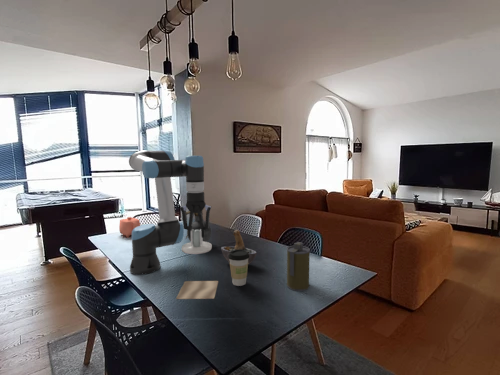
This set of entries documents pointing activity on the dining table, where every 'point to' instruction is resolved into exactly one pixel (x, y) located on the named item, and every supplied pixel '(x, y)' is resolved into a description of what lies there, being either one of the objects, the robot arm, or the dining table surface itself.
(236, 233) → the planter
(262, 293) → the dining table surface
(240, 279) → the coffee cup
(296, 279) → the canister
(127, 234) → the teapot
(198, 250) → the lid
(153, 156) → the robot arm
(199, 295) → the mat
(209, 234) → the pitcher
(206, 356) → the dining table surface
